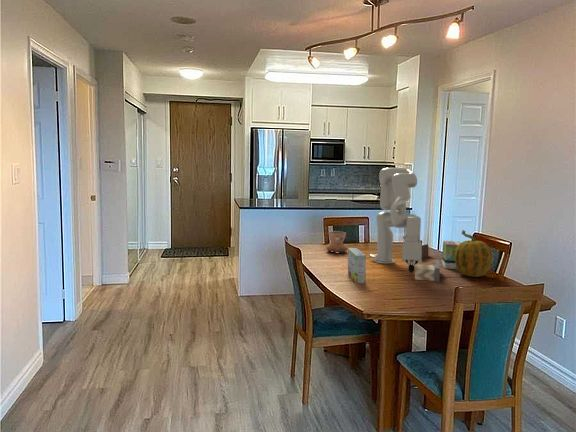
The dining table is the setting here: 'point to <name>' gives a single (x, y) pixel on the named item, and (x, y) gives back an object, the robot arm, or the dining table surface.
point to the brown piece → (337, 241)
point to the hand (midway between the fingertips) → (411, 272)
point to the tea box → (449, 254)
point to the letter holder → (424, 250)
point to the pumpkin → (473, 257)
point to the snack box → (357, 265)
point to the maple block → (424, 272)
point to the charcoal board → (437, 270)
